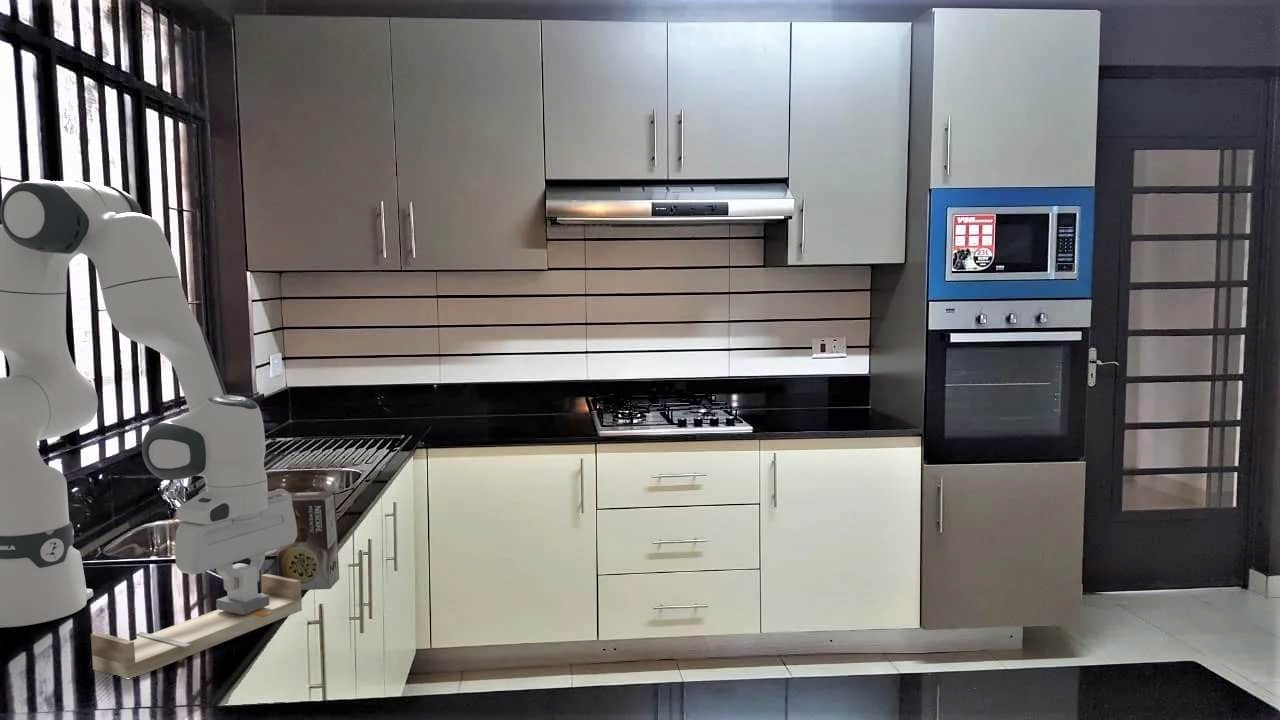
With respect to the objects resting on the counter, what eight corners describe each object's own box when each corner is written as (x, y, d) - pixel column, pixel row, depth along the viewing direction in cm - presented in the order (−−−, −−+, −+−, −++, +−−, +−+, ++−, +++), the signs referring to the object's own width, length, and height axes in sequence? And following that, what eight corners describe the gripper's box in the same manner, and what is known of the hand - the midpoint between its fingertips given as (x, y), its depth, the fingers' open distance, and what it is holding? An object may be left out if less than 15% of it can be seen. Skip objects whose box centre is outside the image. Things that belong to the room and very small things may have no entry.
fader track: (86, 667, 134) (84, 632, 134) (261, 601, 161) (259, 572, 160) (136, 681, 129) (134, 646, 129) (308, 611, 156) (307, 581, 155)
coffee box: (340, 578, 173) (336, 490, 171) (330, 590, 166) (326, 498, 165) (289, 579, 172) (285, 491, 171) (277, 591, 166) (272, 500, 164)
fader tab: (216, 609, 150) (214, 568, 149) (243, 599, 154) (241, 560, 154) (243, 615, 147) (241, 573, 147) (269, 604, 152) (267, 564, 151)
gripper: (276, 484, 160) (280, 565, 161) (166, 511, 142) (171, 602, 143) (304, 487, 157) (307, 570, 158) (194, 516, 139) (199, 609, 140)
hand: (242, 586), depth 151 cm, fingers closed on fader tab, 2 cm apart
